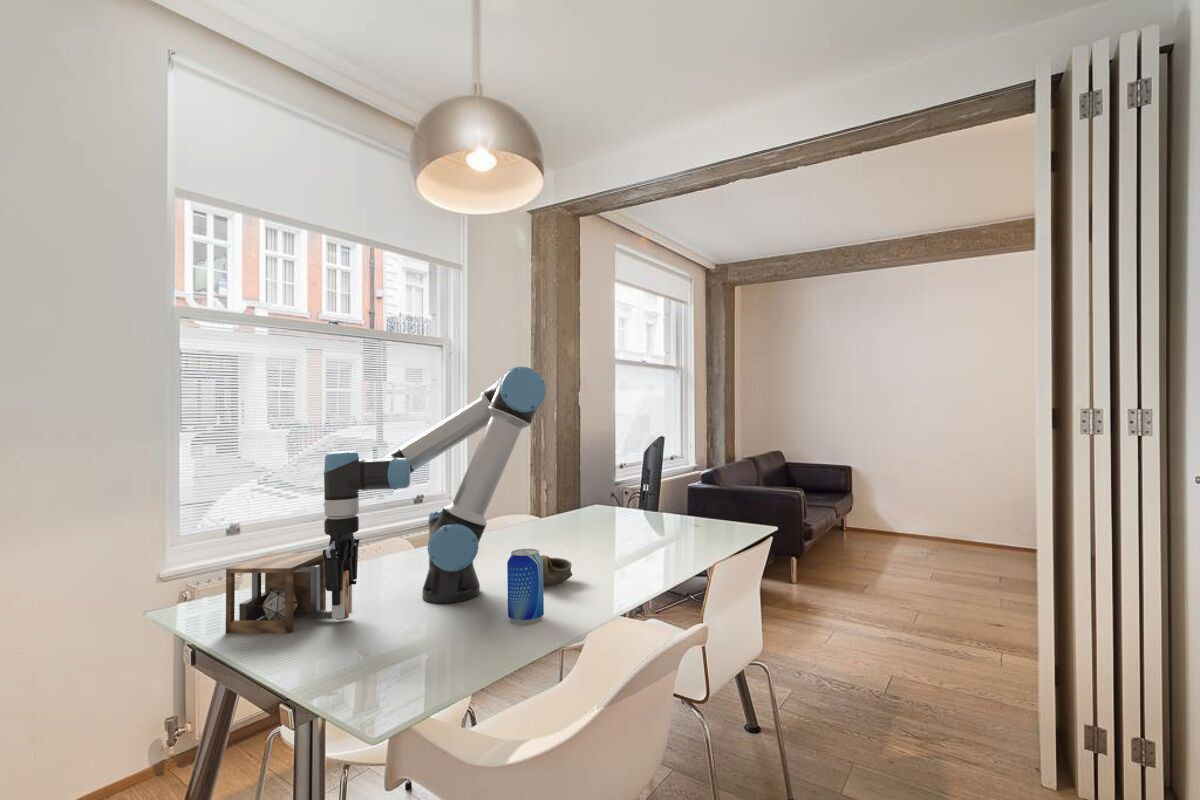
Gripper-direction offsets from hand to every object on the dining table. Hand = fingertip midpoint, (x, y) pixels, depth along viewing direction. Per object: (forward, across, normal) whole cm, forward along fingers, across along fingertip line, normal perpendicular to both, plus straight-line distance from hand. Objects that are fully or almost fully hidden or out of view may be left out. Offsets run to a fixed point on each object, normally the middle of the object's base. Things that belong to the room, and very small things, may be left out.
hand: (342, 615), depth 138 cm
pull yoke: (+1, 0, -10) cm, 10 cm away
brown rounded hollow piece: (+2, -30, +45) cm, 54 cm away
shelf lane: (+1, 0, -16) cm, 16 cm away
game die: (+2, 0, -15) cm, 15 cm away
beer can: (+2, -1, +44) cm, 44 cm away
